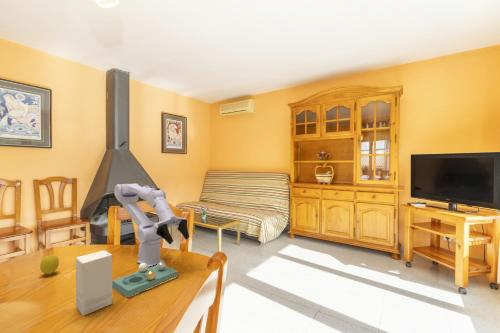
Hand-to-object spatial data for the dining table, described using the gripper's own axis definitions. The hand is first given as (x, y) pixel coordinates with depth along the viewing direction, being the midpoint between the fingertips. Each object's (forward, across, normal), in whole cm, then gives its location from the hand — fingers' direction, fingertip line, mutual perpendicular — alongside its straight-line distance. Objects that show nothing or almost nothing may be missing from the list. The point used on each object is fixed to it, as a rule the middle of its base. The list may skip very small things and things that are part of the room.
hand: (179, 240), depth 96 cm
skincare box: (+8, -29, +12) cm, 32 cm away
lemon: (-19, -31, +36) cm, 51 cm away
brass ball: (+6, -12, +7) cm, 15 cm away
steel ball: (+3, -5, +10) cm, 12 cm away
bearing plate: (+6, -11, +13) cm, 18 cm away
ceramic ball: (0, -10, +13) cm, 16 cm away
